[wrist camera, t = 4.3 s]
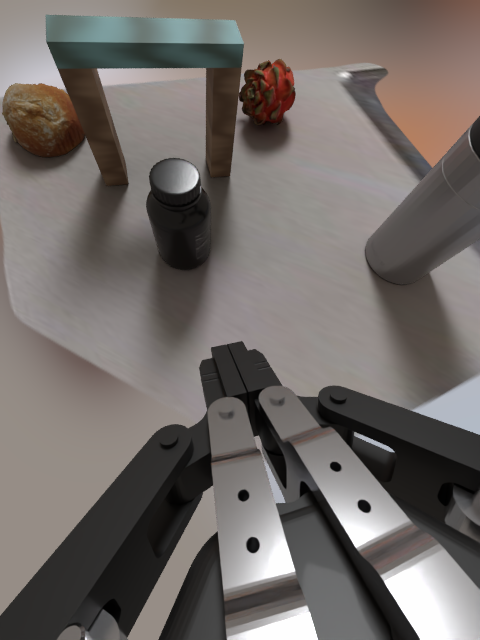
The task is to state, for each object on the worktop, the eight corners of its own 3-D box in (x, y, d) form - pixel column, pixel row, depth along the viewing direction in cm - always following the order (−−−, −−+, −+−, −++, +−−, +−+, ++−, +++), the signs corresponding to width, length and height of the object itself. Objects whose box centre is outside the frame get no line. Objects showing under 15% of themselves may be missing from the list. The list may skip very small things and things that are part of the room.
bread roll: (27, 144, 45) (-30, 104, 37) (67, 93, 43) (17, 41, 36) (63, 182, 43) (11, 149, 35) (106, 130, 42) (62, 84, 34)
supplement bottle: (198, 222, 39) (196, 143, 28) (218, 262, 37) (224, 193, 26) (151, 236, 37) (128, 157, 26) (169, 278, 35) (152, 213, 24)
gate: (224, 156, 44) (234, 20, 29) (230, 175, 43) (243, 43, 28) (104, 164, 40) (45, 14, 25) (106, 185, 39) (46, 41, 24)
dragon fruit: (242, 145, 47) (267, 116, 53) (288, 131, 43) (310, 101, 49) (221, 86, 42) (251, 61, 47) (272, 61, 37) (298, 37, 43)
